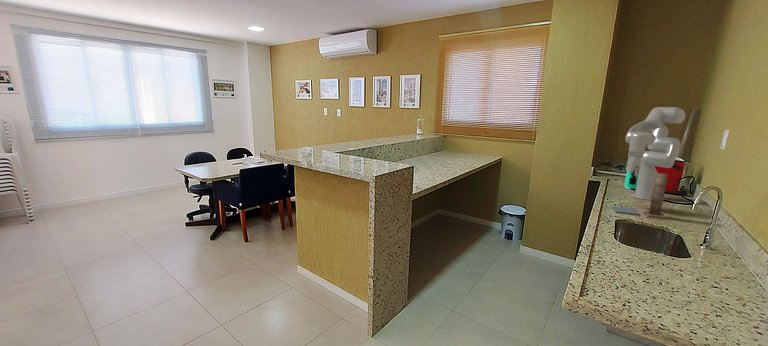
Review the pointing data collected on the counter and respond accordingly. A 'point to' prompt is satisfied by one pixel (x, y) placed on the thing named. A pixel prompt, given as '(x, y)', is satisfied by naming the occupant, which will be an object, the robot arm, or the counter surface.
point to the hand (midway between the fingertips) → (631, 182)
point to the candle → (628, 176)
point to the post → (657, 197)
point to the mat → (625, 210)
